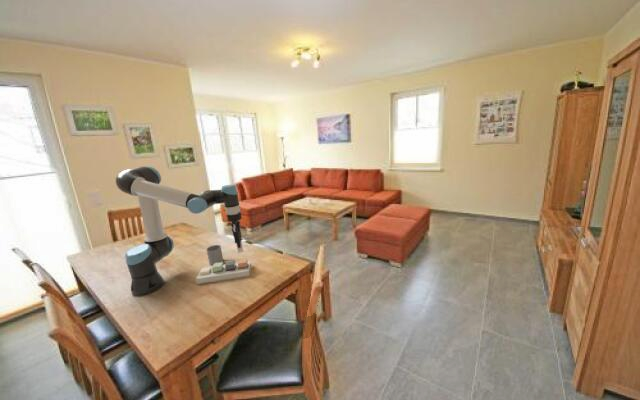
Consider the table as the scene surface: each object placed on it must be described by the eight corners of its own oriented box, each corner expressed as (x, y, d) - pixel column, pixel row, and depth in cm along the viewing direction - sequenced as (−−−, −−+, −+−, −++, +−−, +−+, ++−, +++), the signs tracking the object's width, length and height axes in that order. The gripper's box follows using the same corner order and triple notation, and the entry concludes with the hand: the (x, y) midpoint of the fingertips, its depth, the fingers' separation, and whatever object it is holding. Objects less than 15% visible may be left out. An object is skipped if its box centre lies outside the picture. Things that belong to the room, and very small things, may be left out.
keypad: (197, 284, 137) (196, 278, 136) (203, 273, 149) (202, 267, 148) (249, 276, 142) (248, 270, 141) (251, 265, 153) (250, 260, 152)
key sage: (213, 273, 141) (212, 267, 140) (215, 269, 146) (213, 263, 145) (222, 272, 142) (220, 266, 141) (223, 268, 147) (222, 262, 145)
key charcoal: (226, 272, 142) (225, 265, 141) (227, 267, 147) (226, 261, 146) (234, 270, 143) (233, 264, 142) (236, 266, 148) (235, 260, 147)
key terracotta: (238, 270, 143) (237, 263, 142) (239, 265, 148) (238, 259, 147) (247, 268, 144) (246, 262, 143) (248, 264, 149) (247, 258, 148)
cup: (218, 265, 156) (215, 251, 154) (206, 265, 158) (203, 250, 155) (225, 259, 164) (223, 245, 161) (214, 258, 166) (211, 244, 163)
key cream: (200, 278, 141) (199, 272, 140) (203, 274, 145) (201, 268, 144) (209, 277, 141) (208, 270, 140) (211, 272, 146) (210, 266, 145)
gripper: (239, 215, 131) (246, 256, 138) (242, 208, 144) (248, 246, 150) (224, 217, 130) (232, 258, 136) (228, 210, 143) (235, 248, 149)
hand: (240, 251), depth 143 cm, fingers closed
